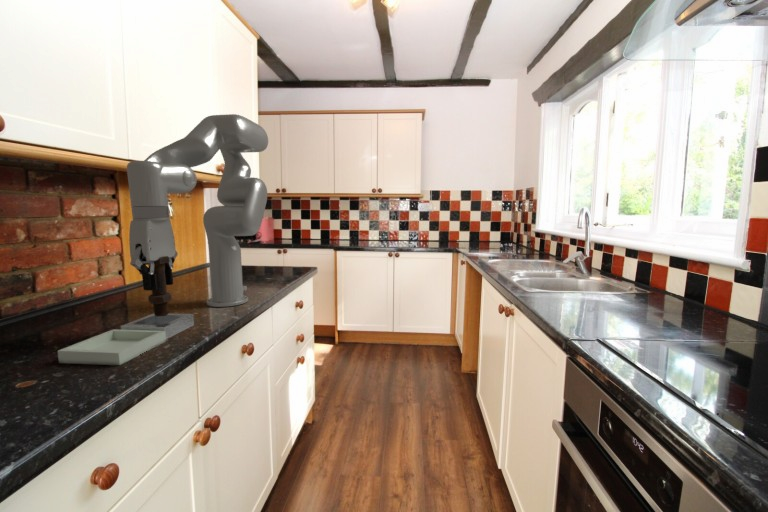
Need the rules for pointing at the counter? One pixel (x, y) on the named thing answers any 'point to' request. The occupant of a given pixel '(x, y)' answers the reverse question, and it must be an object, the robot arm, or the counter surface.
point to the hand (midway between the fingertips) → (159, 286)
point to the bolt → (160, 288)
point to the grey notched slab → (162, 323)
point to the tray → (112, 347)
